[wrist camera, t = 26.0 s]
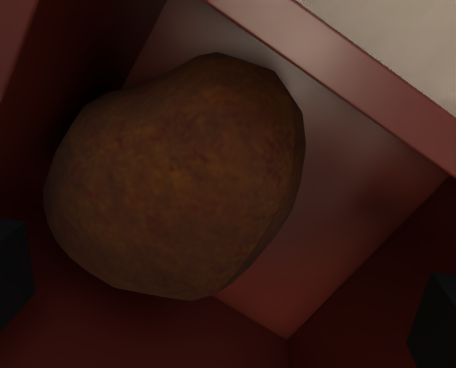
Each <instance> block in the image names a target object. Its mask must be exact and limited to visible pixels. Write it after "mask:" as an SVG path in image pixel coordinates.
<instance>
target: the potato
mask: <svg viewBox="0 0 456 368" xmlns="http://www.w3.org/2000/svg"><path fill="white" fill-rule="evenodd" d="M305 148H306V139H305V130H304V121H303V113H302V111H301V109H300V108H299V106H298V105H297V103H296V102H295V100H294V99H293V97H292V96H291V94H290V93H289V91H288V90H287V88H286V87H285V85H284V84H283V83H282V81H281V80H280V78H279V77H278V75H277V74H276V72H275V71H273V70H270V69H267V68H264V67H262V66H259V65H256V64H253V63H250V62H248V61H245V60H242V59H239V58H235V57H232V56H229V55H226V54H223V53H220V52H214V53H209V54H204V55H199V56H196V57H194V58H193V59H191V60H189V61H187V62H186V63H184V64H182V65H180V66H179V67H177V68H175V69H173V70H172V71H170V72H168V73H166V74H164V75H161V76H159V77H157V78H155V79H153V80H151V81H148V82H146V83H144V84H142V85H138V86H134V87H130V88H125V89H121V90H116V91H112V92H107V93H106V94H104V95H102V96H101V97H99V98H97V99H95V100H94V101H92V102H90V103H89V104H87V105H85V106H84V107H83V108H82V110H81V111H80V113H79V114H78V116H77V117H76V119H75V120H74V121H73V123H72V124H71V126H70V128H69V129H68V131H67V133H66V135H65V136H64V138H63V140H62V141H61V143H60V145H59V147H58V148H57V150H56V152H55V155H54V158H53V161H52V164H51V167H50V170H49V173H48V175H47V178H46V181H45V184H44V187H43V207H44V211H45V215H46V219H47V223H48V225H49V227H50V229H51V232H52V234H53V236H54V238H55V240H56V242H57V243H58V244H59V245H60V246H61V248H62V249H63V250H64V251H65V252H66V254H67V255H68V256H69V257H70V258H71V259H72V260H73V261H74V262H76V263H77V264H78V265H80V266H81V267H82V268H84V269H85V270H86V271H88V272H89V273H91V274H92V275H94V276H96V277H97V278H99V279H101V280H102V281H104V282H106V283H107V284H109V285H111V286H112V287H114V288H119V289H124V290H129V291H134V292H140V293H145V294H150V295H155V296H160V297H166V298H173V299H180V300H188V301H194V300H197V299H200V298H204V297H207V296H210V295H213V294H217V293H218V292H220V291H221V290H223V289H224V288H226V287H227V286H229V285H230V284H232V283H233V282H234V281H235V280H236V279H237V278H238V277H239V276H240V275H241V274H243V273H244V272H245V271H246V270H247V269H248V268H249V267H250V266H251V265H252V264H253V263H254V262H255V260H256V259H257V258H258V257H259V256H260V254H261V253H262V252H263V251H264V250H265V248H266V247H267V246H268V245H269V244H270V242H271V241H272V240H273V239H274V238H275V236H276V235H277V233H278V232H279V230H280V229H281V227H282V226H283V224H284V222H285V221H286V219H287V218H288V216H289V215H290V213H291V212H292V209H293V206H294V203H295V199H296V196H297V193H298V189H299V186H300V183H301V177H302V171H303V164H304V158H305Z"/></svg>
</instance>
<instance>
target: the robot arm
mask: <svg viewBox="0 0 456 368" xmlns="http://www.w3.org/2000/svg"><path fill="white" fill-rule="evenodd" d="M35 293H36V291H35V285H34V278H33V271H32V264H31V257H30V251H29V244H28V237H27V230H26V224H25V221H17V220H9V219H0V332H1V331H2V330H3V329H4V328H5V326H6V325H7V324H8V323H9V322H10V321H11V320H12V319H13V317H14V316H15V315H16V314H17V313H18V312H19V311H20V310H21V308H22V307H23V306H24V305H25V304H26V303H27V302H28V301H29V299H30V298H31V297H32V296H33V295H34V294H35ZM406 344H407V347H408V349H409V351H410V353H411V356H412V358H413V360H414V362H415V364H416V367H417V368H456V275H452V274H444V273H436V272H431V273H430V276H429V279H428V282H427V284H426V287H425V290H424V293H423V296H422V298H421V301H420V304H419V307H418V310H417V312H416V315H415V318H414V321H413V324H412V327H411V329H410V332H409V335H408V338H407V341H406Z"/></svg>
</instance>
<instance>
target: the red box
mask: <svg viewBox="0 0 456 368" xmlns="http://www.w3.org/2000/svg"><path fill="white" fill-rule="evenodd" d="M214 52H220V53H223V54H226V55H229V56H232V57H235V58H239V59H242V60H245V61H248V62H250V63H253V64H256V65H259V66H262V67H264V68H267V69H270V70H273V71H275V72H276V74H277V75H278V77H279V78H280V80H281V81H282V83H283V84H284V85H285V87H286V88H287V90H288V91H289V93H290V94H291V96H292V97H293V99H294V100H295V102H296V103H297V105H298V106H299V108H300V109H301V111H302V113H303V121H304V130H305V139H306V148H305V158H304V164H303V171H302V177H301V183H300V186H299V189H298V193H297V196H296V199H295V203H294V206H293V209H292V212H291V213H290V215H289V216H288V218H287V219H286V221H285V222H284V224H283V226H282V227H281V229H280V230H279V232H278V233H277V235H276V236H275V238H274V239H273V240H272V241H271V242H270V244H269V245H268V246H267V247H266V248H265V250H264V251H263V252H262V253H261V254H260V256H259V257H258V258H257V259H256V260H255V262H254V263H253V264H252V265H251V266H250V267H249V268H248V269H247V270H246V271H245V272H244V273H243V274H241V275H240V276H239V277H238V278H237V279H236V280H235V281H234V282H233V283H232V284H230V285H229V286H227V287H226V288H224V289H223V290H221V291H220V292H218V293H217V294H213V295H210V296H207V297H204V298H200V299H197V300H194V301H188V300H180V299H173V298H166V297H160V296H155V295H150V294H145V293H140V292H134V291H129V290H124V289H119V288H114V287H112V286H111V285H109V284H107V283H106V282H104V281H102V280H101V279H99V278H97V277H96V276H94V275H92V274H91V273H89V272H88V271H86V270H85V269H84V268H82V267H81V266H80V265H78V264H77V263H76V262H74V261H73V260H72V259H71V258H70V257H69V256H68V255H67V254H66V252H65V251H64V250H63V249H62V248H61V246H60V245H59V244H58V243H57V242H56V240H55V238H54V236H53V234H52V232H51V229H50V227H49V225H48V223H47V219H46V215H45V211H44V207H43V187H44V184H45V181H46V178H47V175H48V173H49V170H50V167H51V164H52V161H53V158H54V155H55V152H56V150H57V148H58V147H59V145H60V143H61V141H62V140H63V138H64V136H65V135H66V133H67V131H68V129H69V128H70V126H71V124H72V123H73V121H74V120H75V119H76V117H77V116H78V114H79V113H80V111H81V110H82V108H83V107H84V106H85V105H87V104H89V103H90V102H92V101H94V100H95V99H97V98H99V97H101V96H102V95H104V94H106V93H107V92H112V91H116V90H121V89H125V88H130V87H134V86H138V85H142V84H144V83H146V82H148V81H151V80H153V79H155V78H157V77H159V76H161V75H164V74H166V73H168V72H170V71H172V70H173V69H175V68H177V67H179V66H180V65H182V64H184V63H186V62H187V61H189V60H191V59H193V58H194V57H196V56H199V55H204V54H209V53H214ZM0 219H9V220H17V221H25V224H26V230H27V237H28V244H29V251H30V257H31V264H32V271H33V278H34V285H35V291H36V293H35V294H34V295H33V296H32V297H31V298H30V299H29V301H28V302H27V303H26V304H25V305H24V306H23V307H22V308H21V310H20V311H19V312H18V313H17V314H16V315H15V316H14V317H13V319H12V320H11V321H10V322H9V323H8V324H7V325H6V326H5V328H4V329H3V330H2V331H1V332H0V368H417V367H416V364H415V362H414V360H413V358H412V356H411V353H410V351H409V349H408V347H407V344H406V341H407V338H408V335H409V332H410V329H411V327H412V324H413V321H414V318H415V315H416V312H417V310H418V307H419V304H420V301H421V298H422V296H423V293H424V290H425V287H426V284H427V282H428V279H429V276H430V273H431V272H436V273H444V274H452V275H456V117H454V116H453V115H452V114H450V113H449V112H448V111H446V110H445V109H443V108H442V107H441V106H439V105H438V104H437V103H435V102H434V101H432V100H431V99H430V98H428V97H427V96H426V95H424V94H423V93H422V92H420V91H419V90H417V89H416V88H415V87H413V86H412V85H411V84H409V83H408V82H406V81H405V80H404V79H402V78H401V77H400V76H398V75H397V74H395V73H394V72H393V71H391V70H390V69H389V68H387V67H386V66H385V65H383V64H382V63H380V62H379V61H378V60H376V59H375V58H374V57H372V56H371V55H369V54H368V53H367V52H365V51H364V50H363V49H361V48H360V47H359V46H357V45H356V44H354V43H353V42H352V41H350V40H349V39H348V38H346V37H345V36H343V35H342V34H341V33H339V32H338V31H337V30H335V29H334V28H333V27H331V26H330V25H328V24H327V23H326V22H324V21H323V20H322V19H320V18H319V17H317V16H316V15H315V14H313V13H312V12H311V11H309V10H308V9H307V8H305V7H304V6H302V5H301V4H300V3H298V2H297V1H296V0H0Z"/></svg>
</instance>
